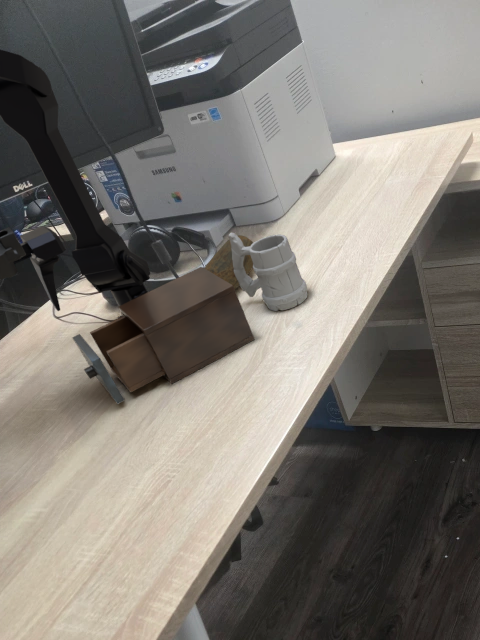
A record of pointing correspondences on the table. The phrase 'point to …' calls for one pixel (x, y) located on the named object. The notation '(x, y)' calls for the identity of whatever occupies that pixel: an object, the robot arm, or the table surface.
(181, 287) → the cabinet
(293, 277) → the mug
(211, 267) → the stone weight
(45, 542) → the table surface
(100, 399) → the table surface
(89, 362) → the drawer
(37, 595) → the table surface
